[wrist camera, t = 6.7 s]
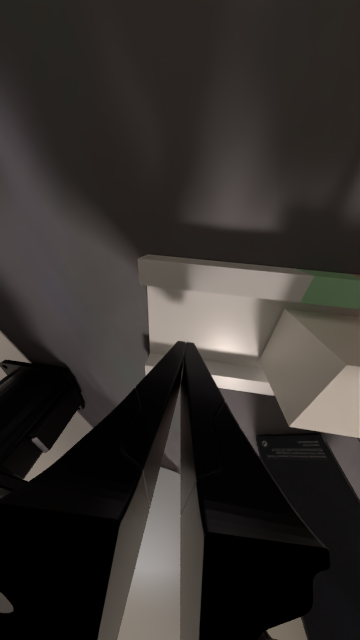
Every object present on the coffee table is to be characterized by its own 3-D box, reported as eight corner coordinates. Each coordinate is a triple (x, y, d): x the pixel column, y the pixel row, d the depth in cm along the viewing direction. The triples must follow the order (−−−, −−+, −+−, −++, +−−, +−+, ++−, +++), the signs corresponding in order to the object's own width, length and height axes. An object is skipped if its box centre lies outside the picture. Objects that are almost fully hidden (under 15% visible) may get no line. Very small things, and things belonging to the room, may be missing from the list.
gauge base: (151, 361, 12) (132, 412, 9) (147, 254, 8) (107, 271, 4) (352, 389, 11) (420, 460, 8) (467, 285, 7) (725, 336, 4)
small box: (250, 434, 16) (314, 685, 7) (322, 430, 14) (526, 762, 5) (262, 470, 21) (310, 651, 12) (317, 471, 19) (422, 685, 10)
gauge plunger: (259, 361, 10) (288, 426, 7) (311, 252, 7) (431, 274, 3) (320, 369, 10) (384, 441, 6) (409, 261, 6) (651, 294, 3)
